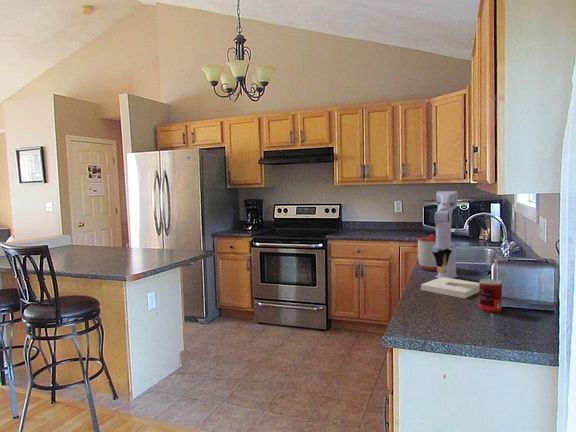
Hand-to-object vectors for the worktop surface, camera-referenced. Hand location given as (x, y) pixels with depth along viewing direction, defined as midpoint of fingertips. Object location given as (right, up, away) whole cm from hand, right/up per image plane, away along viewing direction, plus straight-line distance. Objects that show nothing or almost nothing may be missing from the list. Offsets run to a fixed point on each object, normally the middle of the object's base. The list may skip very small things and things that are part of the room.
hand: (442, 265), depth 186 cm
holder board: (+3, -10, -4) cm, 11 cm away
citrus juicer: (+10, -7, +40) cm, 42 cm away
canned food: (+6, -13, -33) cm, 36 cm away
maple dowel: (0, -3, 0) cm, 3 cm away
